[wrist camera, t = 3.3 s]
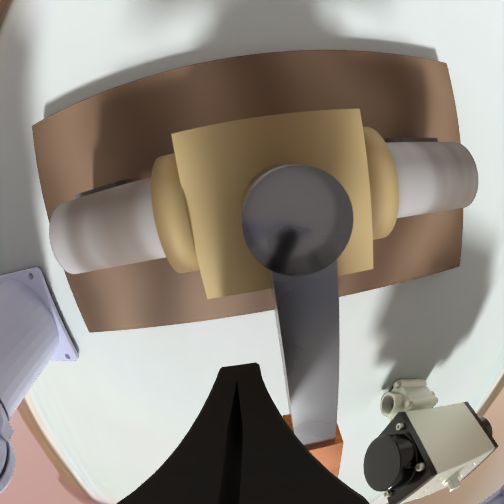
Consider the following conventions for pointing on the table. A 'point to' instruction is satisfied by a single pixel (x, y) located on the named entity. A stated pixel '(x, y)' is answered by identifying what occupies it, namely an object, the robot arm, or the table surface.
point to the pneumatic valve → (424, 444)
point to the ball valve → (248, 179)
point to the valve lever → (303, 290)
